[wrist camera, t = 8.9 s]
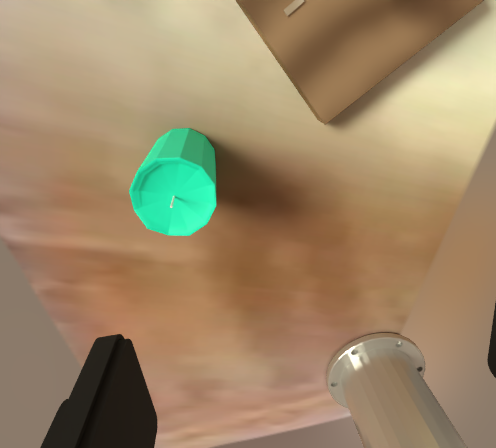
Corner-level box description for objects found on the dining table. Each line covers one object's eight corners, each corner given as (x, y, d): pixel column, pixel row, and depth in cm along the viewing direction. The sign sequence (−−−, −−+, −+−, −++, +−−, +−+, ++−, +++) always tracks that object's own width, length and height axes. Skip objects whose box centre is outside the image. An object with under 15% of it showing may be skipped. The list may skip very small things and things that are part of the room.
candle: (156, 121, 34) (128, 153, 23) (221, 134, 35) (225, 172, 24) (148, 183, 36) (120, 240, 25) (210, 194, 37) (208, 253, 26)
